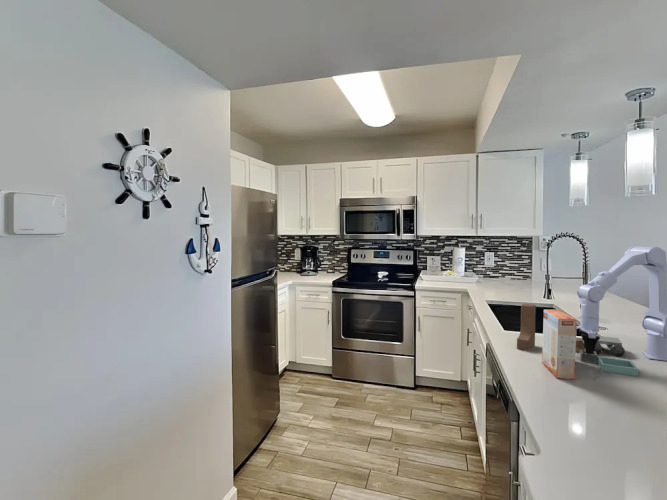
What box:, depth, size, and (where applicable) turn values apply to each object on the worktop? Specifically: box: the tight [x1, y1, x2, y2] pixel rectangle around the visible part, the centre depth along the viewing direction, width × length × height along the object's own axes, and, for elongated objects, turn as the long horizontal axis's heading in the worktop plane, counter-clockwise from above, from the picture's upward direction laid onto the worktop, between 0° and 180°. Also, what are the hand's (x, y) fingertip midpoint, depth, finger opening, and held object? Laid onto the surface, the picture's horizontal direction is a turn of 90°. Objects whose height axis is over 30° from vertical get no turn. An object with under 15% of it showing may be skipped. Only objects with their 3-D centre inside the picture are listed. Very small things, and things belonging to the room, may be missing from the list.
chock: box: [575, 337, 585, 354], centre depth 143 cm, size 5×4×5 cm
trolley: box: [594, 335, 626, 358], centre depth 142 cm, size 11×11×5 cm
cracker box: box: [541, 309, 578, 380], centre depth 124 cm, size 14×6×21 cm, turn 167°
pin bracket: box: [578, 349, 599, 364], centre depth 134 cm, size 5×5×3 cm
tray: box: [597, 356, 639, 377], centre depth 125 cm, size 10×8×2 cm
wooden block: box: [516, 303, 536, 352], centre depth 148 cm, size 9×4×18 cm, turn 134°
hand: (588, 351), depth 134 cm, fingers closed on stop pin, 3 cm apart
